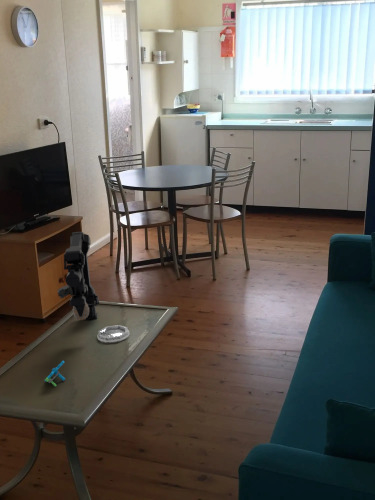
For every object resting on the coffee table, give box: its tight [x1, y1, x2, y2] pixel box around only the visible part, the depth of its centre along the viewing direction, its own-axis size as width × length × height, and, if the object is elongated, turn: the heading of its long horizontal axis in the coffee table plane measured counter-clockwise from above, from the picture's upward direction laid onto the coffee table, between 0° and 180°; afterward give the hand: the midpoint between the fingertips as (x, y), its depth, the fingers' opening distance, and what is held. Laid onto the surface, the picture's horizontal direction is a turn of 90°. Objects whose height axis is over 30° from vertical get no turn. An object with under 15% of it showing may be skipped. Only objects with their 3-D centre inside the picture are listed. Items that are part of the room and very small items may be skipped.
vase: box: [72, 303, 89, 321], centre depth 246 cm, size 7×7×9 cm
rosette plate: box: [96, 324, 131, 344], centre depth 250 cm, size 14×14×2 cm
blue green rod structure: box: [44, 360, 66, 387], centre depth 214 cm, size 11×6×10 cm
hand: (81, 313), depth 246 cm, fingers closed on vase, 7 cm apart
